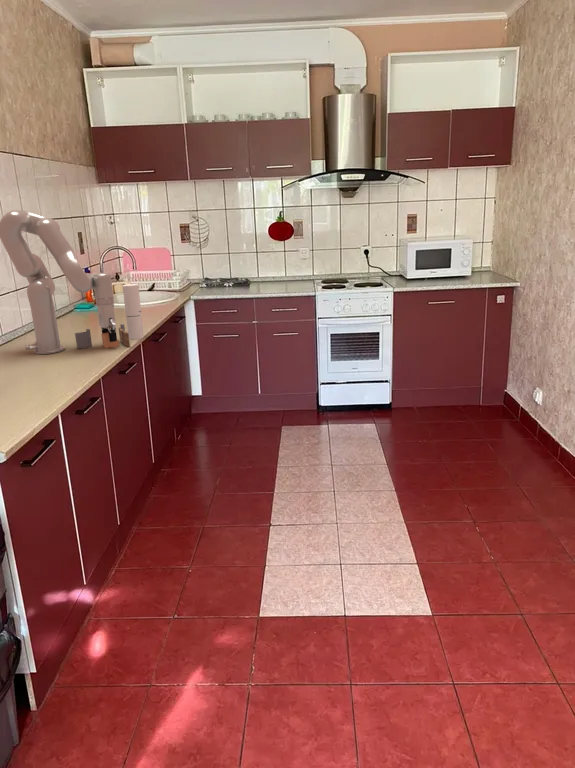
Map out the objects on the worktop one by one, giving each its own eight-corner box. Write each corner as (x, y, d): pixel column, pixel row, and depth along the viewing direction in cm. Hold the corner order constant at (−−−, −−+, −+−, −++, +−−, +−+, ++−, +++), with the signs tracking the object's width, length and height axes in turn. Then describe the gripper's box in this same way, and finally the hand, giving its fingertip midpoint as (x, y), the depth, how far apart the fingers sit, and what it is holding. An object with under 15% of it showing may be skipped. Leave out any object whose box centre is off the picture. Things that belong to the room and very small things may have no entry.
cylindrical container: (146, 336, 282) (141, 283, 275) (139, 339, 276) (133, 286, 268) (133, 335, 284) (127, 283, 277) (125, 339, 278) (119, 285, 270)
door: (119, 341, 272) (118, 327, 271) (122, 340, 273) (120, 327, 271) (127, 346, 261) (126, 332, 259) (129, 346, 261) (128, 332, 259)
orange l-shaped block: (106, 348, 261) (104, 335, 259) (103, 346, 264) (101, 333, 263) (119, 346, 264) (117, 333, 262) (116, 344, 268) (114, 331, 266)
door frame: (78, 349, 261) (75, 331, 259) (76, 348, 262) (74, 330, 260) (126, 341, 273) (124, 324, 270) (124, 340, 274) (122, 323, 272)
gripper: (90, 300, 263) (95, 337, 268) (102, 304, 249) (107, 344, 254) (107, 298, 267) (111, 335, 272) (120, 302, 253) (124, 341, 258)
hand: (109, 339), depth 263 cm, fingers open, 9 cm apart
